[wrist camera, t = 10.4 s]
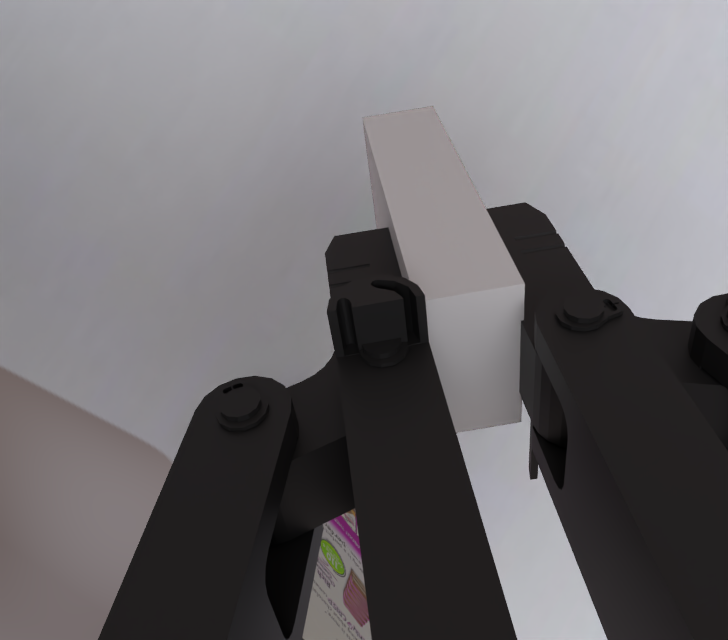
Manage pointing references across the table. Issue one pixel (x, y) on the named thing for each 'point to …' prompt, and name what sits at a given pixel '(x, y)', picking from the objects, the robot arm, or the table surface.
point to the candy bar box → (338, 585)
